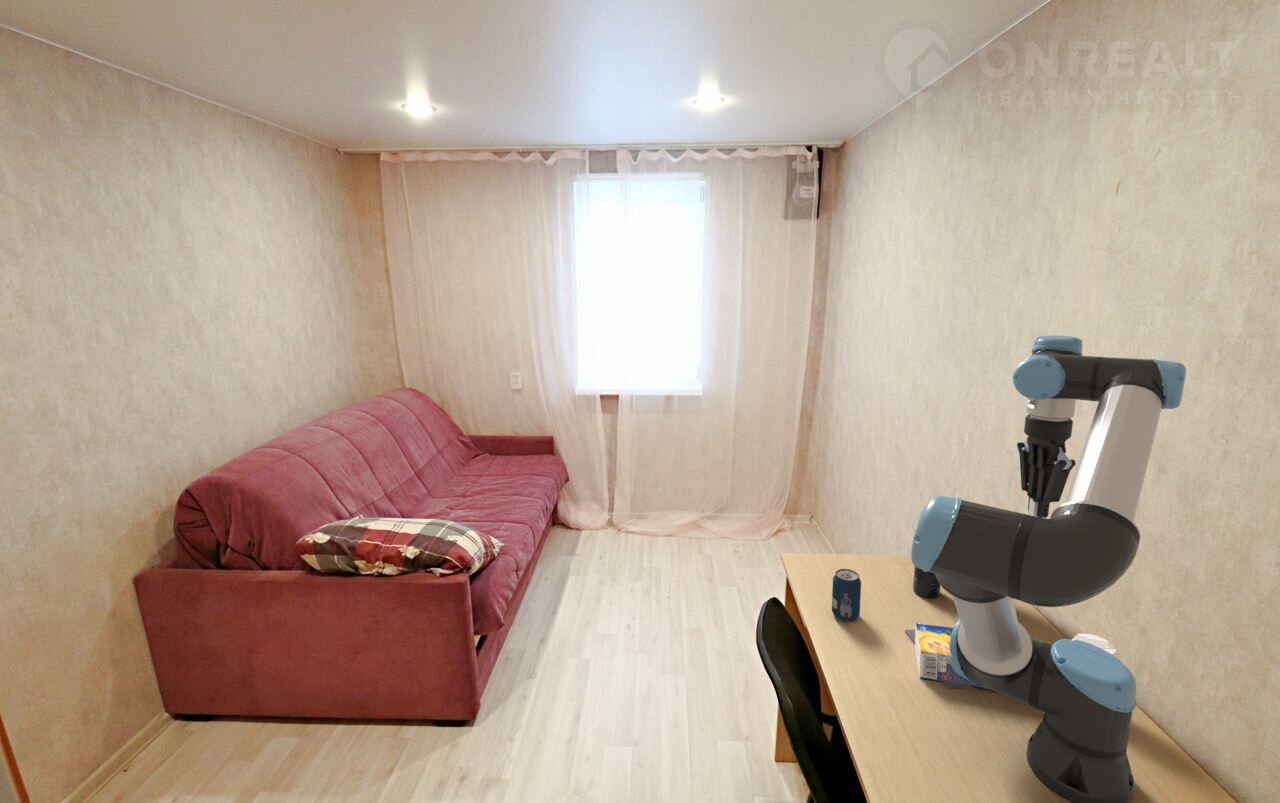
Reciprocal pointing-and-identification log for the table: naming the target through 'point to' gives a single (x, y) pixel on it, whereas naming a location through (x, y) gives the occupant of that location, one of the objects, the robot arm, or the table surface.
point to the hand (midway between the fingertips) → (1035, 529)
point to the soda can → (846, 595)
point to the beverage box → (936, 655)
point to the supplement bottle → (925, 584)
